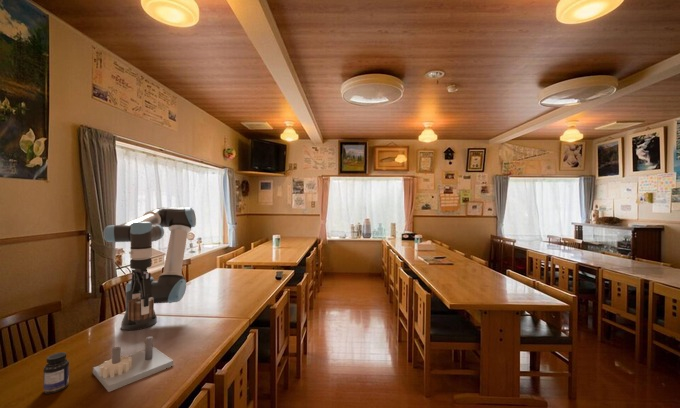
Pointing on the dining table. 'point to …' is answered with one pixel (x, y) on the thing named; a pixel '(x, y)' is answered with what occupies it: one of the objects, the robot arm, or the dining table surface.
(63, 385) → the pill bottle
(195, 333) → the dining table surface
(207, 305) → the dining table surface
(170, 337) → the dining table surface
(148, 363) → the gear board
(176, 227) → the robot arm
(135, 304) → the walnut gear
